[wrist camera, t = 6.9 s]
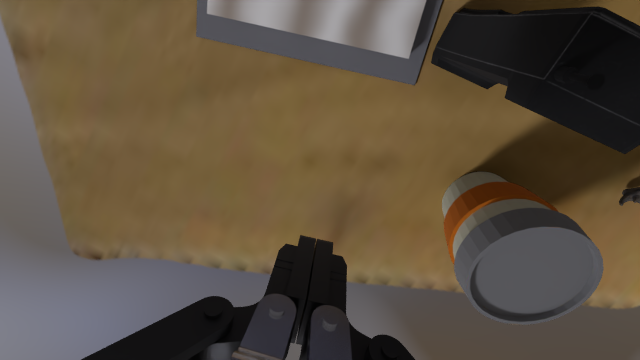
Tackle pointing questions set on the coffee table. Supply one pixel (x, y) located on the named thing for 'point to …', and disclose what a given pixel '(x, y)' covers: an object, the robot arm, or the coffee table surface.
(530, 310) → the reusable coffee cup
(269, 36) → the underlay mat
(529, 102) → the portable radio
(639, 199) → the rhino figurine
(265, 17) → the plank
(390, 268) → the coffee table surface
